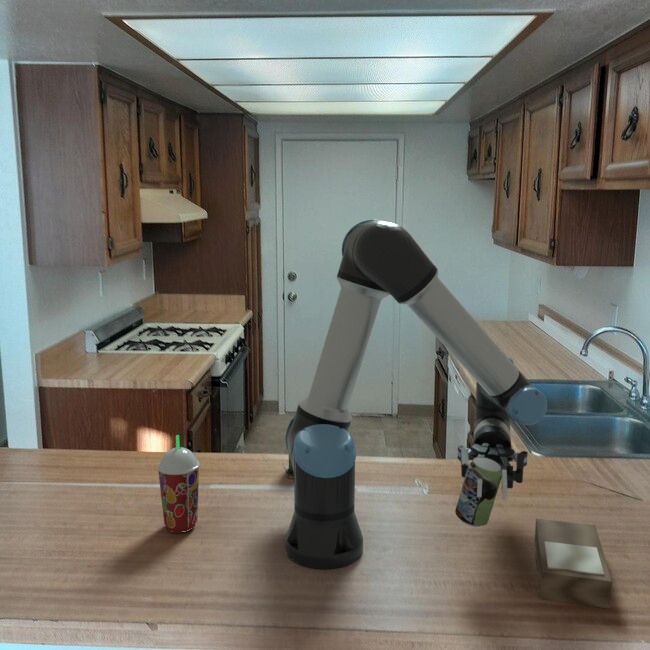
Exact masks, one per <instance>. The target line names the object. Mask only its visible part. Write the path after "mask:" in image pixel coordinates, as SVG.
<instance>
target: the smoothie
mask: <svg viewBox="0 0 650 650" xmlns="http://www.w3.org/2000/svg"><path fill="white" fill-rule="evenodd" d="M175 444H176V445H175V447H173V448H171V449H169V450H167V451H166V452H165V453H164V454H163V455H162V457H161V460H160V461H159V463H158V464H157V470H158V479H159V489H160V498H161V507H162V516H163V522H164V523H163V524H164V526H166V529H167V528H168V529H167V531H169V530H170V531H173V532H182V531H187V530H189V529H191V528H193V527H194V526H195V527H196V524H197V522H198V520H199V519H198V518H199V515H198V512H199V511H198V510H199V481H200V479H199V478H200V462H199V460H198V459H197V457H196V455H195V453H193V452H192V451H191V450H190V449H188V448H186V447H183V446H181V447H180V435H179V434H177V435H175ZM195 527H194V528H195ZM194 528H193V529H194ZM170 531H169V532H170ZM173 532H172V533H173Z"/></svg>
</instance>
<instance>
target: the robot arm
mask: <svg viewBox="0 0 650 650" xmlns="http://www.w3.org/2000/svg"><path fill="white" fill-rule="evenodd" d="M341 256H342V258H341V261H340V263H339V267H338V271H337V275H336V279H337V282H338V283H339V286H340V291H339V293H338V297H337V301H336V304H335V307H334V310H333V314H332V317H331V320H330V323H329V327H328V330H327V334H326V336H325V340H324V344H323V346H322V350H321V353H320V357H319V361H318V364H317V367H316V369H315V373H314V377H313V380H312V383H311V387H310V390H309V394H308V396H307V397H305V398H302V399H301V400H299V402H298V405H297V408H296V411H295V414H294V415H293V416H292V418H291V419H290V421H289V423H288V425H287V428H286V432H285V445H286V448H287V453H288V456H289V455H290V459H291V463H292V467H293V471H294V478H293V481H294V482H293V483H294V484H293V489H294V490H293V492H294V493H293V494H294V496H293V501H294V503H293V504H294V511H293V515H292V517H291V521H290V523H289V526H288V529H287V532H286V535H285V552H287V553H286V554H288V555H287V556H288V558H289V559H290V560H292V561H293V562H295V563H297V564H299V565H301V566H305V567H308V568H312V569H321V570H324V569H329V570H330V569H337V568H342V567H345V566H348V565H350V564H353V563H355V562H356V561H357V560H358V559H359V558H360V557H361V556H362V554H363V552H364V536H363V533H362V530H361V528H360V524H359V522H358V518H357V515H356V512H355V503H356V502H355V498H356V497H355V495H356V494H355V490H356V489H355V488H356V486H355V485H356V483H355V481H356V459H357V449H356V444H355V439H354V437H353V435H352V434H351V433H350V432H349V429H350V426H351V422H352V419H353V417H352V415H351V412H350V411H349V409H348V408H349V405H350V403H351V399H352V395H353V392H354V388H355V385H356V382H357V379H358V376H359V373H360V369H361V367H362V363H363V361H364V357H365V354H366V353H365V352H366V351H367V348H368V347H367V346H368V344H369V341H370V337H371V335H372V331H373V327H374V324H375V322H376V319H377V315H378V311H379V309H380V306H381V302H382V300H383V299H384V298H386V297H388V296H391V297H393V299H394V300H395V301H396V302H397V304H399V305H406V306H408V307H409V308H410V309H411V311H412V312H413V313H414V314H415V315H416V316H417V318H419V319H420V321H421V322H422V323H423V324H424V325H425V326H426V328H428V330H429V331H430V332H431V333H432V334H433V335H434V336H435V337H436V338H437V339H438V340H439V342H441V344H442V345H443V347H445V348H446V349H447V350H448V352H449V353H450V354H451V355H452V356H453V357H454V358H455V359H456V360H457V361H458V363H459V364H460V365H461V366H462V367H463V368H464V369H465V370H466V372H468V373H469V374H470V376H471V377H472V378H473V380H475V381H476V383H475V385H476V387H475V393H476V394H475V406H474V407H475V409H474V412H475V413H474V422H473V424H474V426H473V427H474V430H473V441H472V442H473V443H472V445H471V446H470V447H465V446H464V445H457V457H456V458H457V460H458V461H459V462H460V469H461V471H460V472H461V475H460V476H461V477H462V478H465V475H466V471H467V468H468V465H469V458H470V457H471V458H473V459H474V458H476V457H485V458H488V459H491V460H493V461H495V462H497V463H498V464H499V465H500V467H501V473H502V478H501V481H500V484H501V500H506V501H507V499H508V498H507V495H508V489H513V488H514V482H516V483H518V484H522V483H523V481H524V479H523V478H524V469H525V467H526V466H527V465H528V455H529V454H528V453H529V452H528V451H525V450H522V451H520V452H518V451H517V452H515V450H514V448H513V447H512V438H511V421H513V422H516V423H517V424H520V425H522V426H532V425H535V424H537V423H539V422H540V421H541V420H542V419H543V418H544V416H545V415H546V414H547V410H548V399H547V398H546V396H545V394H544V393H543V392H542V391H541V390H540V389H539V388H538V387H537V386H534V385H532V383H531V382H530V381H529V380H528V379H527V378H526V376H525V375H524V374H523V373H521V371H520V370H519V369H518V368H517V366H515V364H514V361H513V359H512V357H509V356H507V354H506V353H505V352H504V351H503V350H502V349H501V348H500V347H499V346H498V345H497V343H495V341H494V340H493V339H492V338H491V337H490V336H489V334H488V333H487V332H486V331H485V330H484V328H482V326H481V325H480V324H479V323H478V322H477V320H476V319H475V318H474V317H473V316H472V315H471V314H470V313H469V312H468V310H467V309H466V308H465V307H464V306H463V304H462V303H461V302H460V301H459V300H458V299H457V298H456V297H455V295H454V294H453V293H452V292H451V291H450V290H449V289H448V287H447V286H446V285H445V284H444V282H442V281H441V280H440V278H439V277H438V276H439V269H438V267H436V265H435V264H434V263H433V262H432V260H431V259H430V257H428V256H427V254H426V253H425V252H424V251H423V249H422V247H420V245H419V244H418V243H417V242H416V240H415V239H414V238H413V236H412V235H411V233H409V232H408V231H407V230H406V229H405V228H404V227H403V226H401V225H400V224H398V223H395V222H390V221H385V220H382V219H381V220H379V219H376V218H373V219H366V220H362V221H360V222H358V223H356V224H355V225H353V226H352V227H351V228H350V229H349V230H348V231H347V232H346V234H345V236H344V237H343V240H342V244H341ZM512 461H514V462H515V465H516V467H515V468H516V469H515V470H514V465H511V463H510V462H512ZM481 495H482V479H480V478H478V484H477V497H481Z"/></svg>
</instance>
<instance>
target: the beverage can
mask: <svg viewBox="0 0 650 650" xmlns="http://www.w3.org/2000/svg"><path fill="white" fill-rule="evenodd" d="M463 478H464V477H463ZM478 478H480V479H482V495H481V497H477V484H478ZM501 482H502V473H501V467H500V465H499V464H498V463H497V462H495V461H493V460H491V459H488V458H485V457H476V458H473V459H472V461H471V462H470V463H469V465H468V468H467V471H466V475H465V478H464V479H463V481H462V486H461V490H460V492H459V496H458V501H457V503H456V507H455V511H454V513H455V515H456V516H457V518H458V519H459V520H460V521H461V523H463V524H465V525H467V526H471V527H475V528H476V527H478V528H479V527H482V526H486V525H487V524H488V523H489V521H490V517H491V513H492V510H493V507H494V504H495V500H496V497H497V495H498V491H499V488H500V484H501Z"/></svg>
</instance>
